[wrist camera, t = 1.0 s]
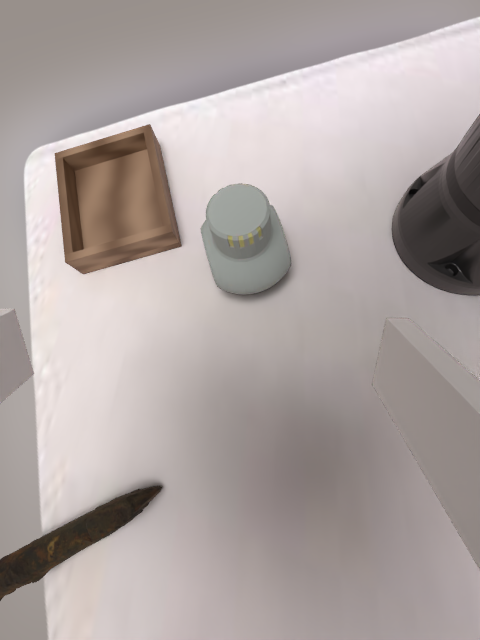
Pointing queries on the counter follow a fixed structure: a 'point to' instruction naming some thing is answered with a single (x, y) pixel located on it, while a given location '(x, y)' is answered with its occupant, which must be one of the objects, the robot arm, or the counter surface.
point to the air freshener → (244, 240)
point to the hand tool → (70, 539)
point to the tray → (115, 201)
